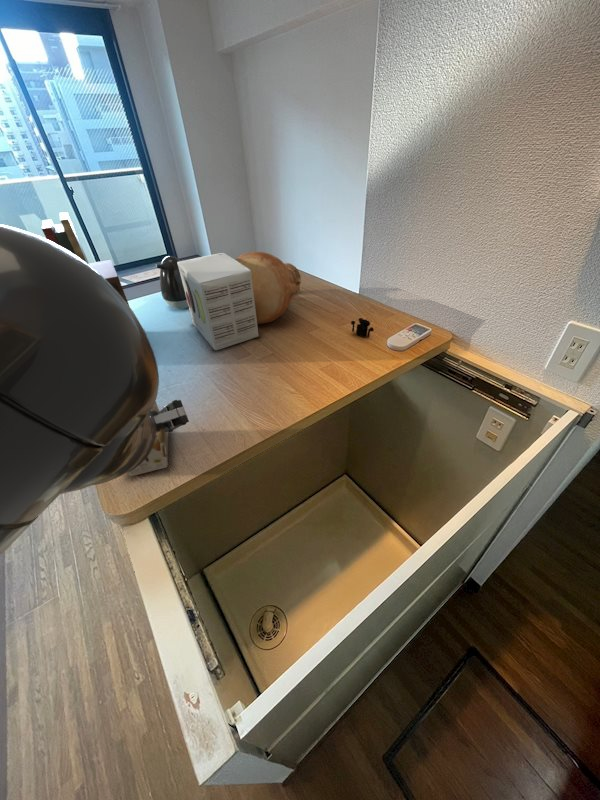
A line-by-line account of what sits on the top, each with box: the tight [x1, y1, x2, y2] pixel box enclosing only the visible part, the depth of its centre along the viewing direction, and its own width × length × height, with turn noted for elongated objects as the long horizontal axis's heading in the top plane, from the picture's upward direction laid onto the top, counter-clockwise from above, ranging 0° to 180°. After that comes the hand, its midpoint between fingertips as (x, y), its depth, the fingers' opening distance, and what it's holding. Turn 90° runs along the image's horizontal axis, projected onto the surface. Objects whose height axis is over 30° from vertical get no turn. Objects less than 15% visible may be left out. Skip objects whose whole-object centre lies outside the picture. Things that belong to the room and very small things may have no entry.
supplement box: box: [177, 252, 259, 351], centre depth 86 cm, size 17×13×18 cm
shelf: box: [41, 211, 130, 306], centre depth 76 cm, size 12×13×31 cm
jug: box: [234, 251, 302, 325], centre depth 97 cm, size 20×19×30 cm
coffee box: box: [128, 401, 169, 477], centre depth 54 cm, size 9×6×16 cm
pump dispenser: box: [155, 255, 189, 310], centre depth 100 cm, size 10×10×15 cm
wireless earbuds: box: [350, 317, 375, 339], centre depth 88 cm, size 7×2×5 cm, turn 50°
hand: (130, 437), depth 40 cm, fingers open, 4 cm apart
